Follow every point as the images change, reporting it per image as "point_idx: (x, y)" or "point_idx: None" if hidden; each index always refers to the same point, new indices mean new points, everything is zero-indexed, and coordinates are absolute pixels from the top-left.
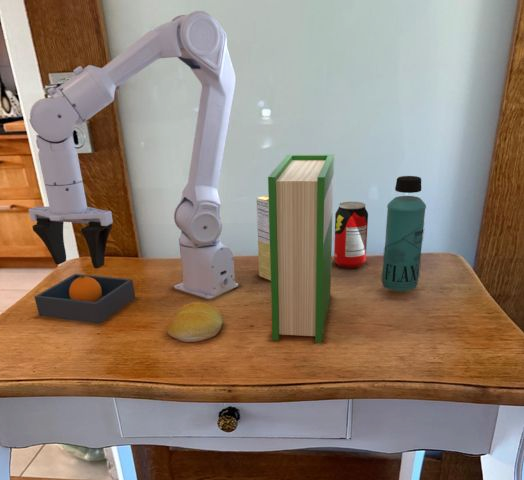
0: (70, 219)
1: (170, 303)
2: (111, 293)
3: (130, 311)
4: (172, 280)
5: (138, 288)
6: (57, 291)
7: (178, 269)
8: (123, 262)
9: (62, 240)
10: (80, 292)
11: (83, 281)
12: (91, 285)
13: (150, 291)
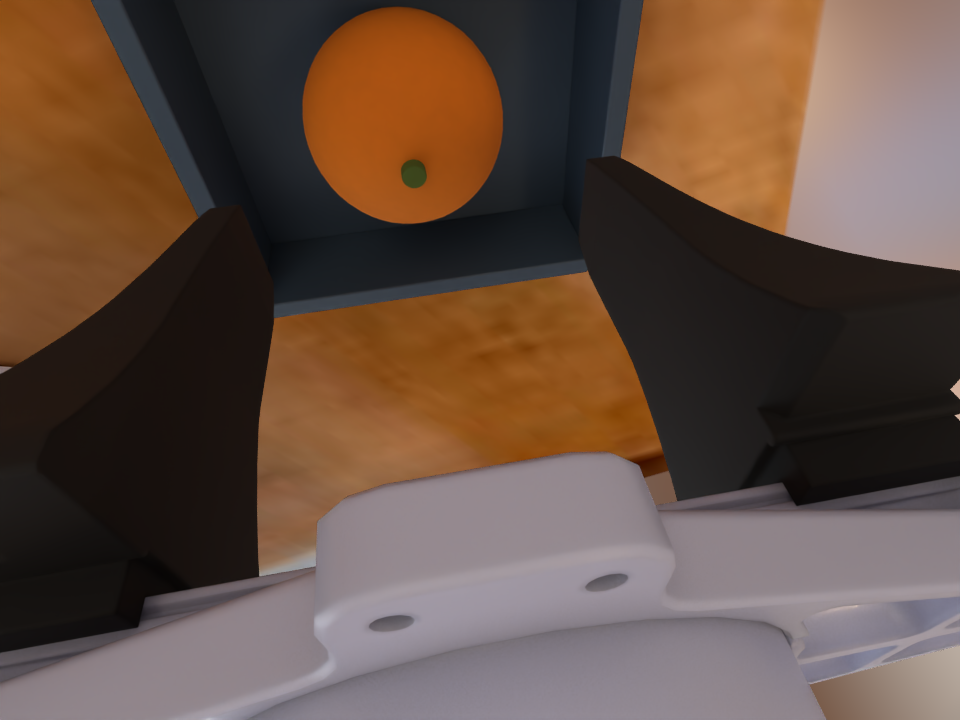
0: (238, 598)
1: (67, 279)
2: (153, 123)
3: (145, 132)
4: (287, 421)
5: (349, 334)
6: (597, 74)
7: (346, 475)
8: (568, 447)
9: (636, 357)
10: (355, 42)
11: (372, 129)
12: (325, 136)
13: (276, 332)
